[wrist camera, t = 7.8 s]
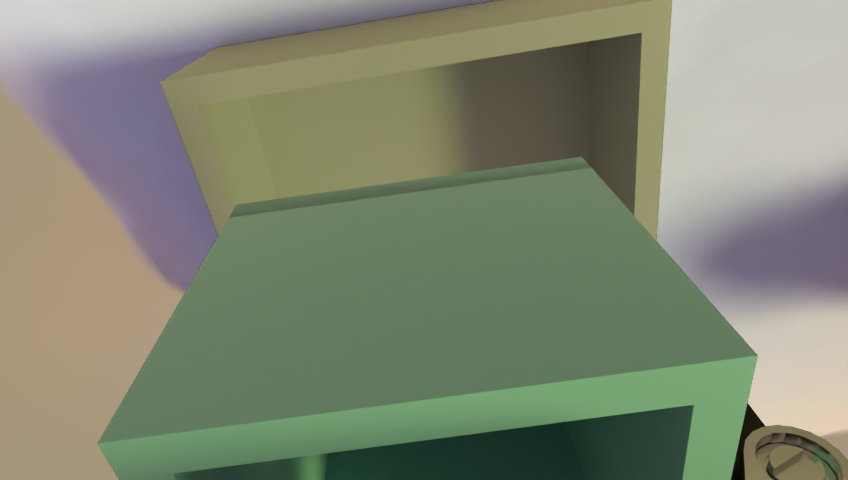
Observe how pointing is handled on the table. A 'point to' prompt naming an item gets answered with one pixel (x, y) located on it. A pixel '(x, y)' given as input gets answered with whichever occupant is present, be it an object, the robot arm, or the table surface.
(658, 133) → the big crate
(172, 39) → the table surface
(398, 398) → the box
